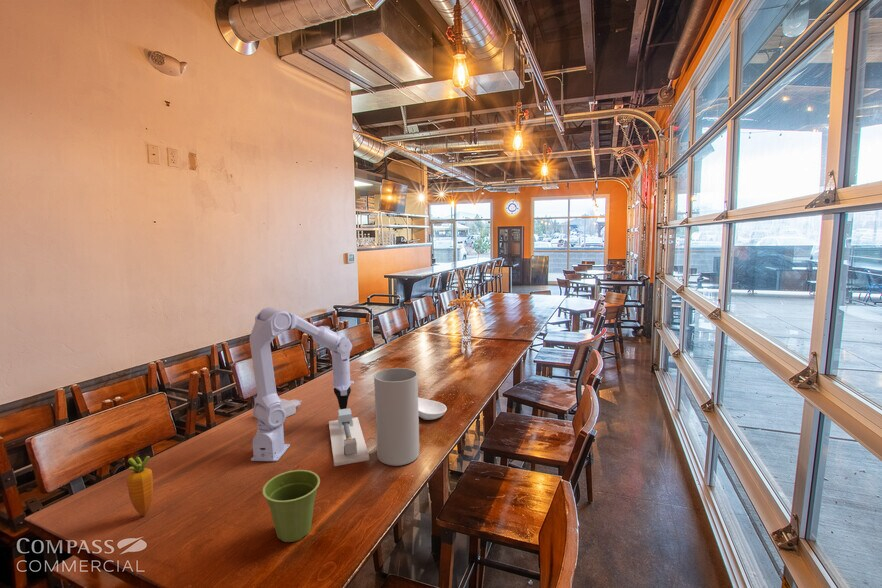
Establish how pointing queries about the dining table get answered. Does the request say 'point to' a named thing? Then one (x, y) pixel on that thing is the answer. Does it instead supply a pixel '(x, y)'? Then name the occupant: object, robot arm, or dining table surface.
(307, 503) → the plant pot
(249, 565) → the dining table surface
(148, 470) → the carrot
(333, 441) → the white slide rail base
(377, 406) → the cylinder vase
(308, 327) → the robot arm
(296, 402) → the charger
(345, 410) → the light grey sliding block
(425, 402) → the spoon rest
